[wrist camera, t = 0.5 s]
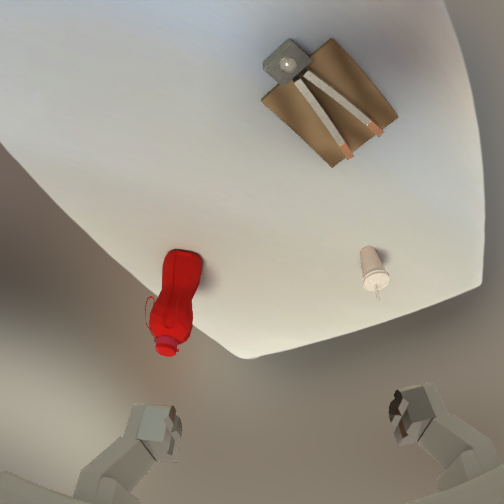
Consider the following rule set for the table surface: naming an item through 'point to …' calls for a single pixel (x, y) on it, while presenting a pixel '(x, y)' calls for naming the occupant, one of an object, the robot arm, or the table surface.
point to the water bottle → (175, 301)
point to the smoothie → (373, 271)
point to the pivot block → (286, 62)
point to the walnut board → (331, 104)
